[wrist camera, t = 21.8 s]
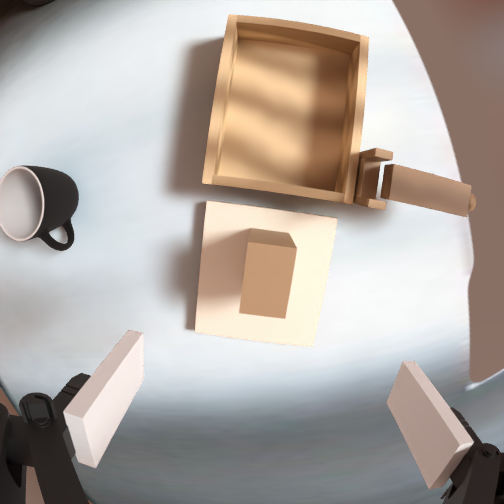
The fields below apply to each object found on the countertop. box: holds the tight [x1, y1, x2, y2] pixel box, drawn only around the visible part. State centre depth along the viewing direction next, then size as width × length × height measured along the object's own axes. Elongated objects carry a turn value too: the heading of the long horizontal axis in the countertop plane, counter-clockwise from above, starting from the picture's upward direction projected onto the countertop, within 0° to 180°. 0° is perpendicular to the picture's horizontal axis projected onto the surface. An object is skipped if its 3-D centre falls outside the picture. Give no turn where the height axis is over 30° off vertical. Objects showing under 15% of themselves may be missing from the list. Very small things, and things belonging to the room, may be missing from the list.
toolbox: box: [202, 15, 393, 210], centre depth 32 cm, size 20×18×10 cm
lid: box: [195, 200, 338, 347], centre depth 36 cm, size 17×16×11 cm
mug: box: [0, 166, 79, 251], centre depth 35 cm, size 12×9×10 cm
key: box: [380, 164, 476, 217], centre depth 30 cm, size 4×11×2 cm, turn 82°
